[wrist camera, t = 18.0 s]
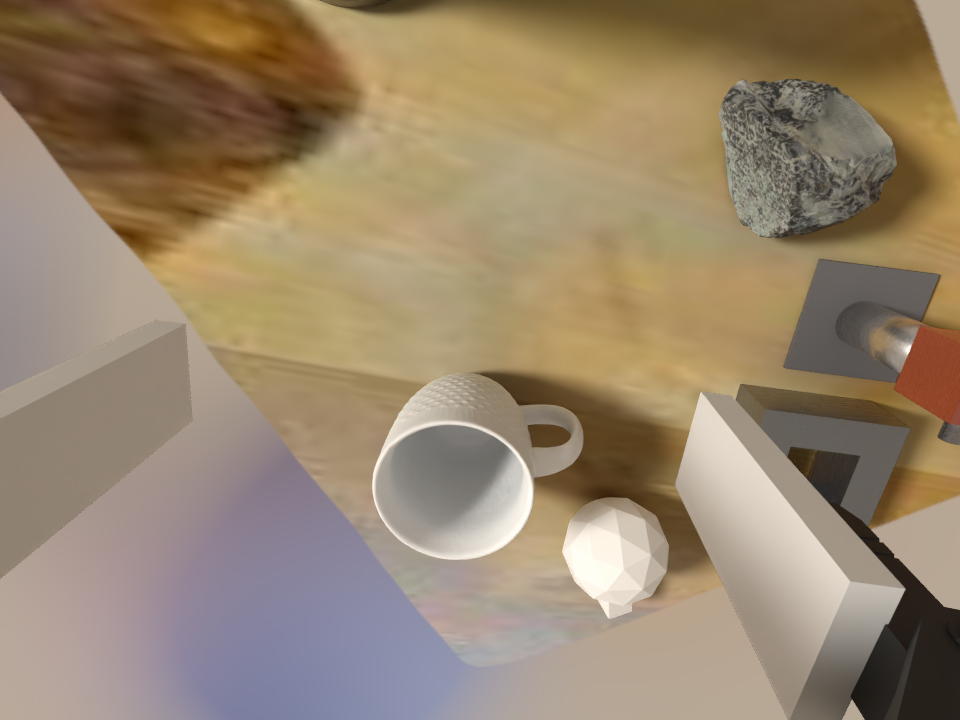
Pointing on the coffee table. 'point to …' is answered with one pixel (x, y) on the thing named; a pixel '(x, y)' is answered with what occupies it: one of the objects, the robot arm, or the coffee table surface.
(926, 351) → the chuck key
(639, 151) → the coffee table surface
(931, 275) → the mat
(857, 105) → the stone
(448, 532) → the mug
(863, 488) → the block
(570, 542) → the perfume bottle
